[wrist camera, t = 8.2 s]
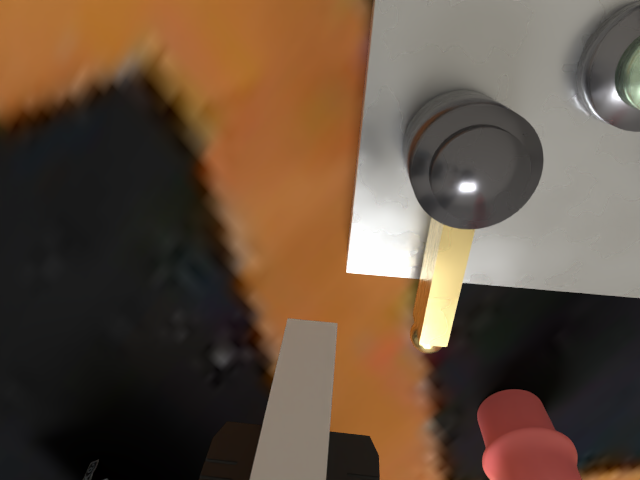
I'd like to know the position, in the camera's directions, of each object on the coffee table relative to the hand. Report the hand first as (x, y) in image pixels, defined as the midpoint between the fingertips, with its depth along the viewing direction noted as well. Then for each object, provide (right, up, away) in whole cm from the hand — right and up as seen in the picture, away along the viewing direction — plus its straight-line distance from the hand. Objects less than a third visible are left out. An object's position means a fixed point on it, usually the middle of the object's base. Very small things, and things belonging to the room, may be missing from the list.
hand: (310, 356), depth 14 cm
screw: (+6, +4, +6) cm, 9 cm away
